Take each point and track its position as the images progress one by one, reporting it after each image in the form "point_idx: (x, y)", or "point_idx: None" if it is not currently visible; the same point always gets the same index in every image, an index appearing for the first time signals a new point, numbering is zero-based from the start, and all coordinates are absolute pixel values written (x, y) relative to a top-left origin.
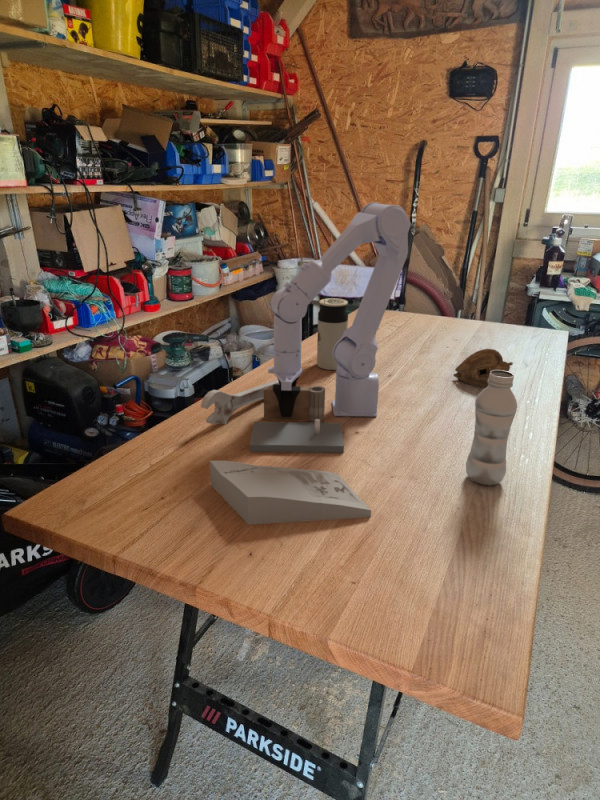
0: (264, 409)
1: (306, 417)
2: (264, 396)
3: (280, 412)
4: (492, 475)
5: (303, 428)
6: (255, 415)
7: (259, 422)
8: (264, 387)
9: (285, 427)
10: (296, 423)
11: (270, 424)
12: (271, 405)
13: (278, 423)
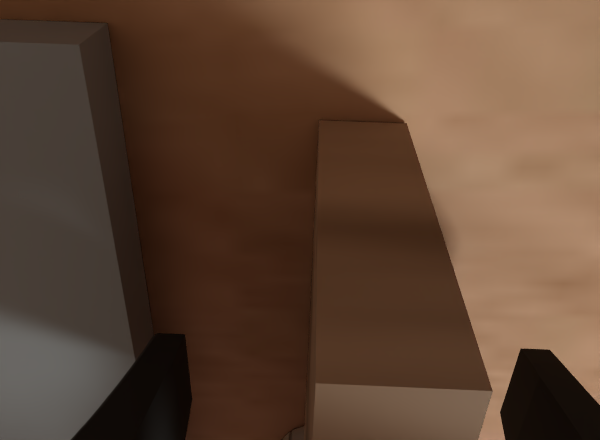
0: (318, 181)
1: (304, 435)
2: (318, 298)
3: (136, 361)
4: None
5: (41, 434)
6: (441, 20)
7: (71, 109)
8: (445, 395)
9: (21, 331)
10: None
11: (50, 218)
12: (313, 286)
13: (90, 283)
